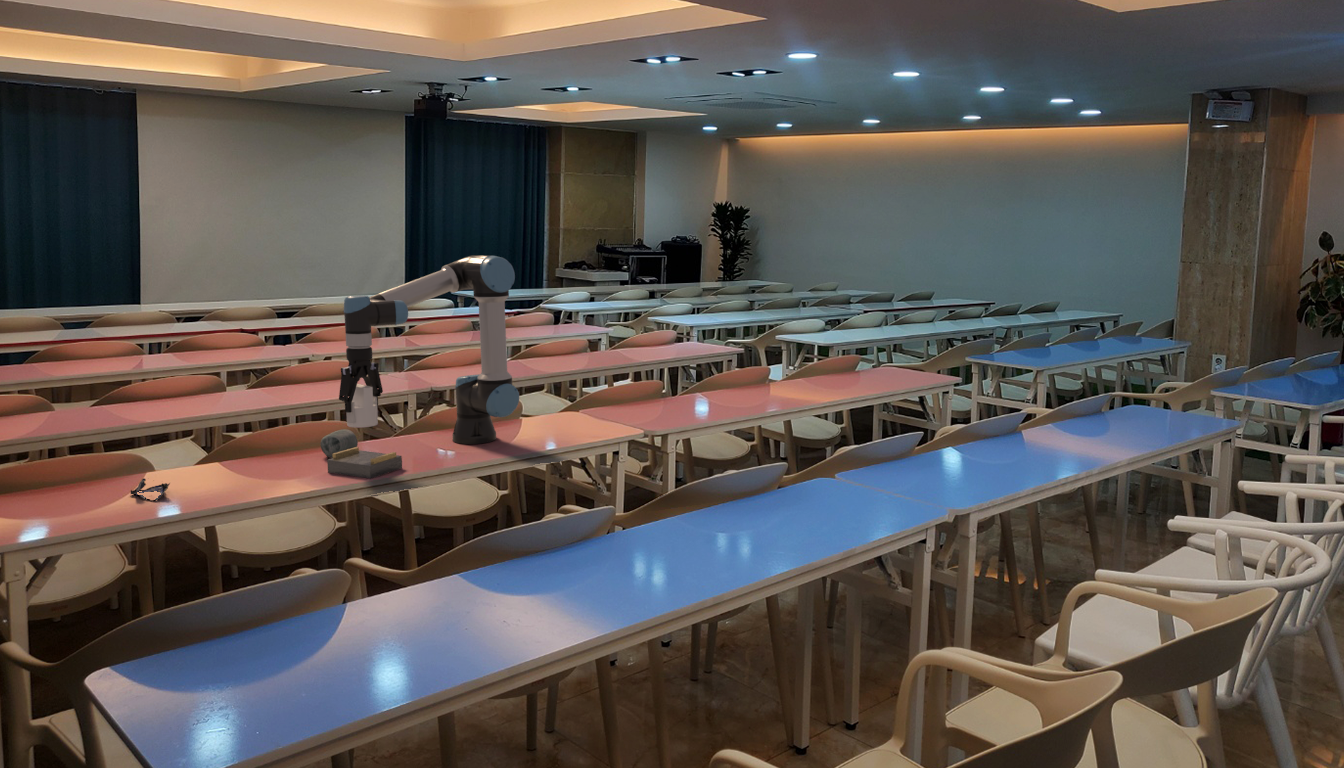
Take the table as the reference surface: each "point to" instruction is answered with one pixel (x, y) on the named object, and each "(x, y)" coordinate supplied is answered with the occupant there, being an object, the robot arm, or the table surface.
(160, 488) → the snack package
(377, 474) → the dark grey flat block
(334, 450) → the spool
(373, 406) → the base with upright slab
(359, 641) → the table surface
